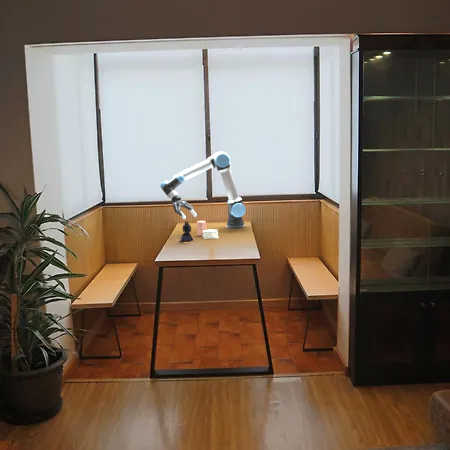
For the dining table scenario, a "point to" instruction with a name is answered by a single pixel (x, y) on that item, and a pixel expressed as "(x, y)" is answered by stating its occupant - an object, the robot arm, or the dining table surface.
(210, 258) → the dining table surface
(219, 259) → the dining table surface
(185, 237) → the figurine
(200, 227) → the tall brick
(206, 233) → the base brick
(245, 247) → the dining table surface
